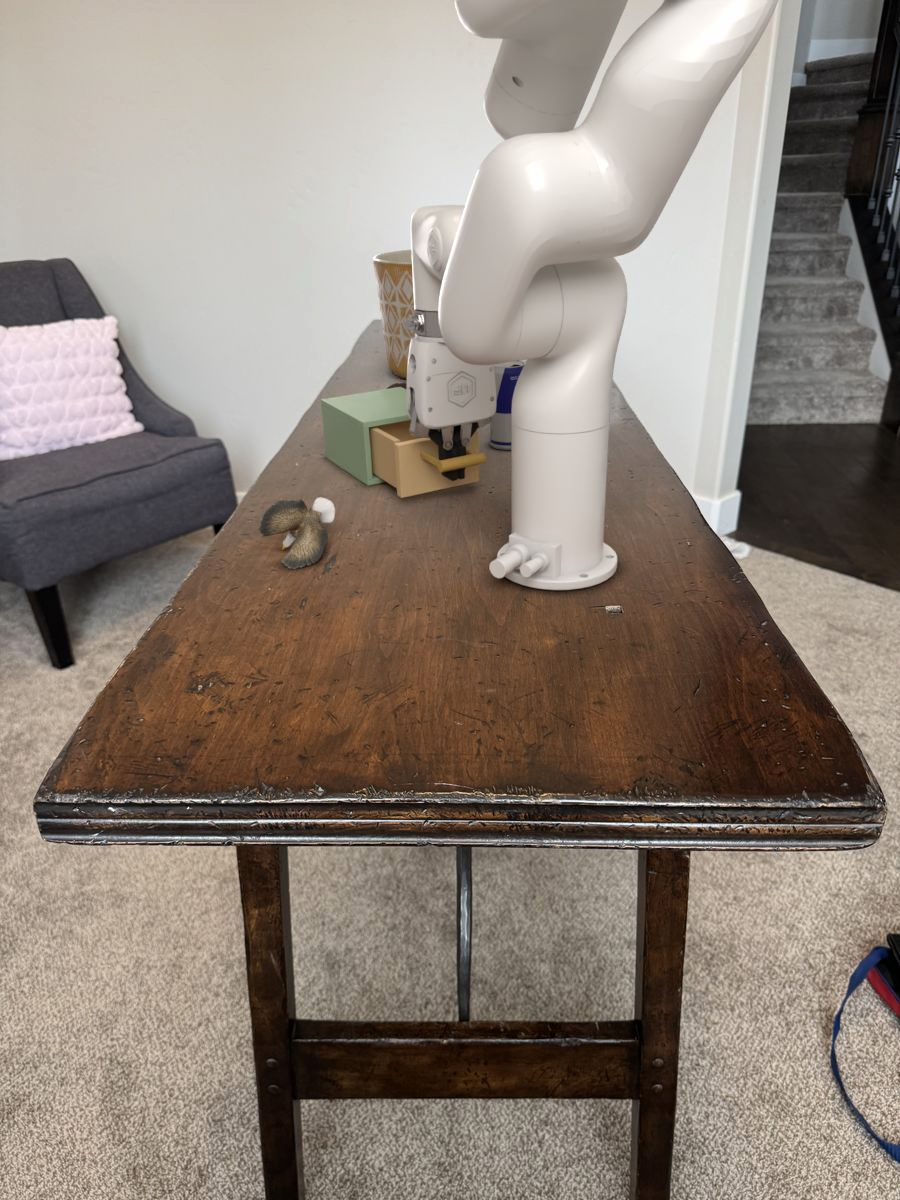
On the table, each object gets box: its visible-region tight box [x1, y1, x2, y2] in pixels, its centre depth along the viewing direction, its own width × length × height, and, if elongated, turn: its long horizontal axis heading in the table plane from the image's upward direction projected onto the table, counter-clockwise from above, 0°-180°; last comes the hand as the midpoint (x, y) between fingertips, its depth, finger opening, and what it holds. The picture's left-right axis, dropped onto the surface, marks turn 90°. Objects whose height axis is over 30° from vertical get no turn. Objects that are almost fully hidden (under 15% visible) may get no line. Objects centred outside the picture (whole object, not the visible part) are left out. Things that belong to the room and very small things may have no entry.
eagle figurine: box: [257, 496, 336, 570], centre depth 98 cm, size 8×7×9 cm
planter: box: [372, 249, 416, 380], centre depth 173 cm, size 26×26×22 cm
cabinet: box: [320, 387, 411, 487], centre depth 125 cm, size 15×13×9 cm
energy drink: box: [488, 360, 526, 451], centre depth 130 cm, size 5×5×12 cm
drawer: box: [369, 420, 487, 499], centre depth 115 cm, size 20×11×7 cm, turn 29°
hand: (453, 476), depth 110 cm, fingers closed
